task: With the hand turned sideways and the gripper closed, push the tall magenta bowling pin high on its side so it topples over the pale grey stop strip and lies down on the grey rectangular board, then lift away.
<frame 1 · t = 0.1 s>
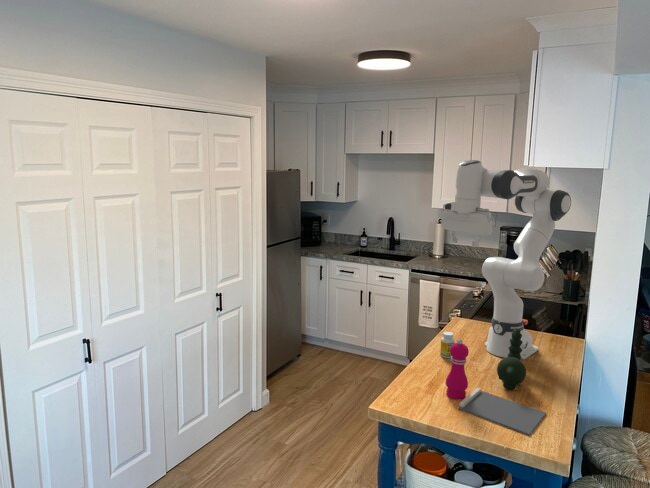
hand: (464, 244, 172), 48 cm above the table, tool pointing down, fingers open, 8 cm apart
grey rectangular board: (487, 406, 154), on the table
supplement bottle: (446, 356, 193), on the table
magenta bowling pin: (455, 395, 161), on the table
grey stop strip: (470, 398, 157), resting on grey rectangular board
toy figurine: (510, 382, 171), on the table
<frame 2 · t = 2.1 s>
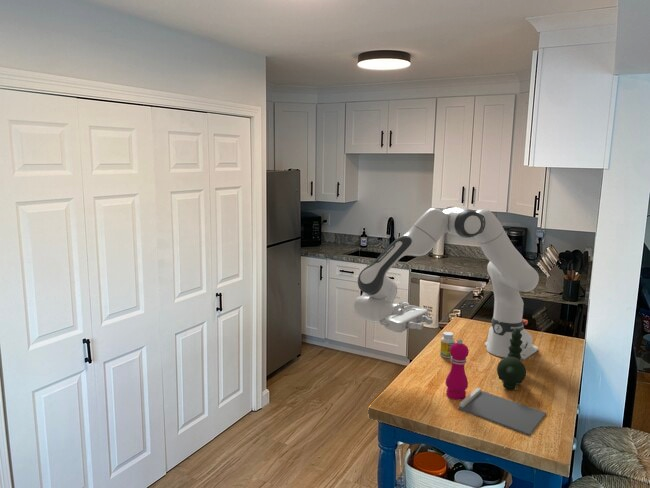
hand: (427, 324, 164), 22 cm above the table, tool horizontal, fingers open, 5 cm apart
nothing on the table moved.
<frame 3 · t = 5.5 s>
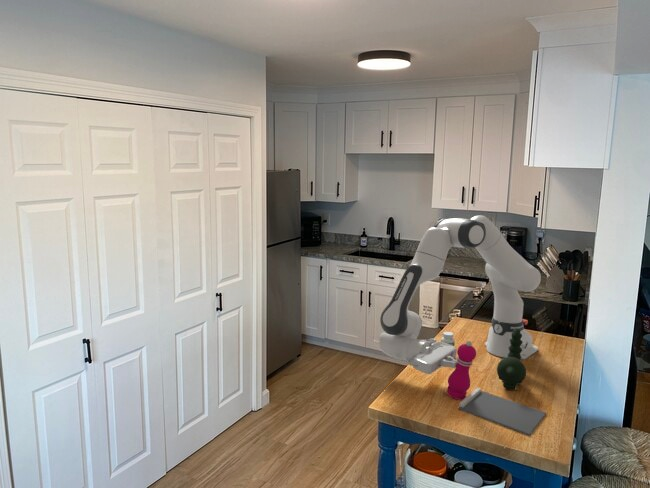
hand: (457, 364, 159), 11 cm above the table, tool horizontal, fingers closed
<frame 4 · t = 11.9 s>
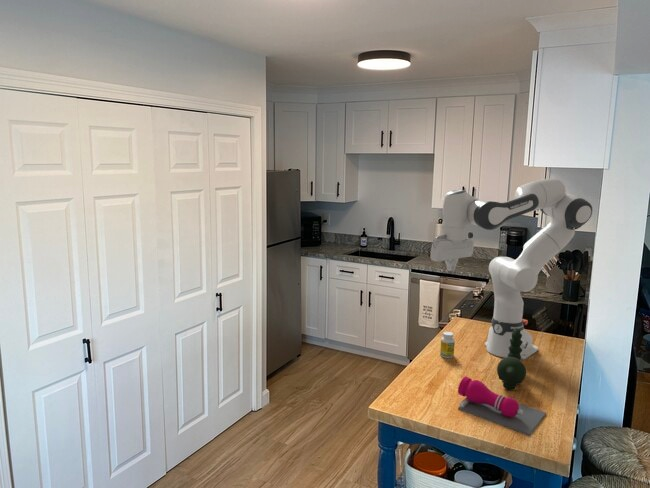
hand: (450, 270, 180), 37 cm above the table, tool pointing down, fingers closed
magenta bowling pin: (461, 385, 157), point 5 cm above the table, touching grey rectangular board, grey stop strip
everything else where it was.
at the end: magenta bowling pin tilted 96°; magenta bowling pin inside the target area (5.1 cm from its centre), point 5.2 cm above the table; magenta bowling pin touching grey rectangular board, grey stop strip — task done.
